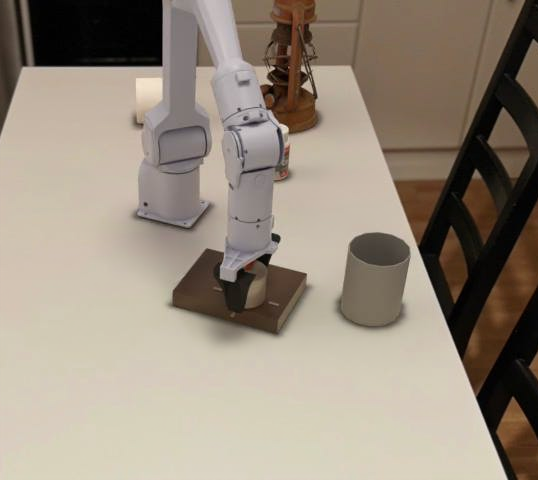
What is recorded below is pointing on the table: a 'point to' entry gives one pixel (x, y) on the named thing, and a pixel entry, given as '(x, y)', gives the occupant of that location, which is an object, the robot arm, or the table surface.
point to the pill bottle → (282, 169)
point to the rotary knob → (256, 284)
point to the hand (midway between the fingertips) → (245, 295)
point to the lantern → (291, 66)
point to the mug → (147, 95)
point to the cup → (375, 278)
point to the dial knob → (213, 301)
